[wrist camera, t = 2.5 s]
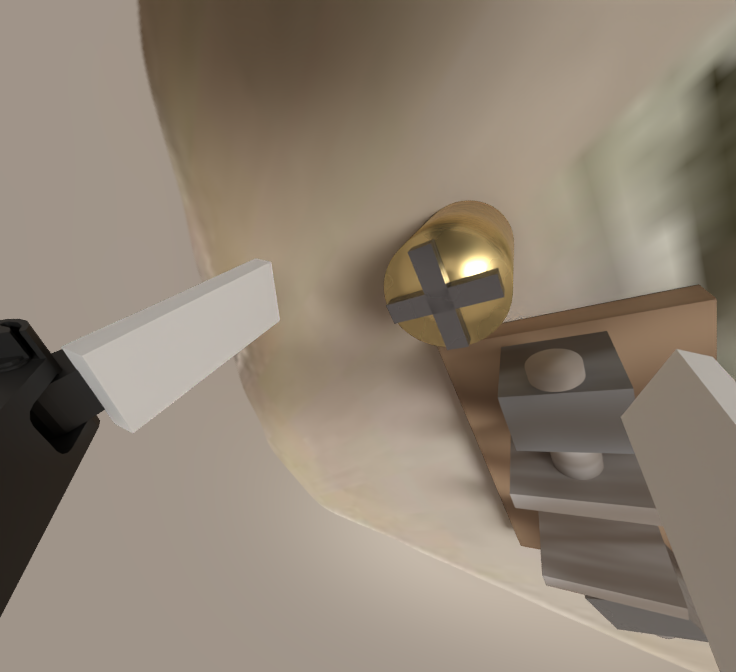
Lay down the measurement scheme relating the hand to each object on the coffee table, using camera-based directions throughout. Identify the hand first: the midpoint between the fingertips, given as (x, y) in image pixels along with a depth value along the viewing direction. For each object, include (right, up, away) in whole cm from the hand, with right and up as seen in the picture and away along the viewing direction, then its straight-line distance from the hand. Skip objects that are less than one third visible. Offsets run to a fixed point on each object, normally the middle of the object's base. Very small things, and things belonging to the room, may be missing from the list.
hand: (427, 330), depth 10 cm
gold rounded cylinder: (+3, +5, +6) cm, 8 cm away
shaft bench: (+12, -8, +10) cm, 18 cm away
